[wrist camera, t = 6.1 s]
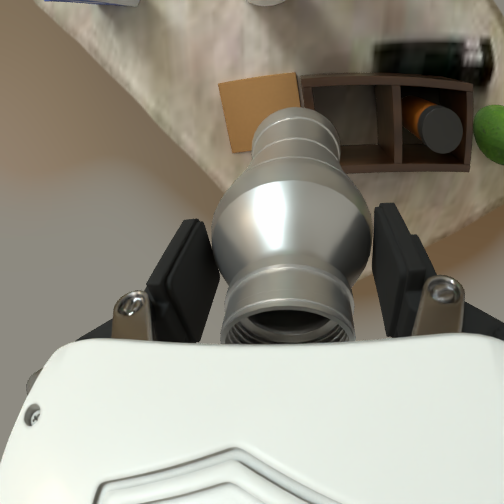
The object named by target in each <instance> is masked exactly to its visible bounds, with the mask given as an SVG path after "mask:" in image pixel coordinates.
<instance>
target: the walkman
mask: <svg viewBox="0 0 504 504" xmlns="http://www.w3.org/2000/svg"><path fill="white" fill-rule="evenodd" d="M44 1H57V2H76V3H88V4H102V5H119V6H133V7H137V6H138V4H139V1H140V0H44Z"/></svg>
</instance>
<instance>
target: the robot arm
mask: <svg viewBox="0 0 504 504" xmlns="http://www.w3.org/2000/svg"><path fill="white" fill-rule="evenodd" d="M372 271H373V276H374V280H375V284H376V288H377V292H378V297H379V302H380V306H381V311H382V315H383V321H384V326H385V331H386V335H387V337H389V336H390V337H392V338H389V339H376V340H364V341H349V342H331V343H307V344H201V343H196V342H199V341H200V340H201V337H202V333H203V330H204V327H205V324H206V321H207V318H208V314H209V311H210V308H211V305H212V302H213V299H214V296H215V293H216V290H217V287H218V283H219V280H220V273H219V270H218V267H217V265H216V263H215V259H214V256H213V252H212V248H211V244H210V241H209V238H208V235H207V231H206V228H205V225H204V223H203V222H200V221H199V219H189V220H184V221H183V222H182V224H181V226H180V228H179V229H178V230H177V232H176V234H175V235H174V237H173V239H172V240H171V242H170V244H169V245H168V247H167V249H166V250H165V252H164V254H163V255H162V258H161V259H160V261H159V262H158V264H157V266H156V268H155V269H154V271H153V273H152V274H151V276H150V278H149V280H148V282H147V283H146V285H147V287H146V289H145V291H138V290H137V291H132V292H129V293H127V294H125V295H124V296H122V297H121V298H120V299H119V300H118V301H117V302H116V304H115V306H114V311H113V318H112V319H111V320H109V321H107V322H106V323H104V324H102V325H101V326H99V327H97V328H96V329H94V330H92V331H91V332H89V333H87V334H85V335H84V336H82V337H80V338H79V339H77V340H76V341H75V342H72V343H69V344H67V345H65V346H63V347H61V348H59V349H58V350H57V351H56V352H55V353H54V354H53V355H52V356H51V358H50V359H49V360H48V362H47V363H46V365H45V366H44V367H43V368H42V369H40V370H38V371H37V372H35V373H34V374H33V375H32V376H31V377H30V378H29V380H28V382H27V385H26V391H27V399H26V401H25V403H24V405H23V407H22V409H21V412H20V414H19V416H18V418H17V421H16V423H15V425H14V428H13V430H12V433H11V435H10V438H9V440H8V443H7V446H6V449H5V452H4V454H3V457H2V460H1V463H0V504H504V323H503V322H501V321H499V320H497V319H495V318H494V317H492V316H491V315H488V314H487V313H485V312H483V311H481V310H480V309H478V308H476V307H474V306H472V305H470V304H469V303H467V302H465V301H464V300H465V292H464V289H463V287H462V285H461V284H460V283H459V282H458V281H457V280H455V279H454V278H452V277H449V276H446V275H437V274H436V272H435V270H434V268H433V265H432V263H431V261H430V259H429V257H428V255H427V253H426V251H425V249H424V247H423V245H422V243H421V241H420V239H419V237H418V236H417V235H416V234H414V235H411V234H410V232H409V230H408V228H407V226H406V224H405V222H404V220H403V219H402V217H401V215H400V213H399V211H398V209H397V207H396V205H395V204H394V203H380V204H379V207H375V211H374V238H373V256H372Z"/></svg>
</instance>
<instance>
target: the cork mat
mask: <svg viewBox="0 0 504 504" xmlns="http://www.w3.org/2000/svg"><path fill="white" fill-rule="evenodd" d="M218 86H219V91H220V96H221V101H222V105H223V110H224V115H225V120H226V124H227V129H228V134H229V139H230V144H231V148H232V153H237V152H245V151H252V140H253V137H254V134H255V132H256V130H257V128H258V126H259V125H260V124H261V123H262V121H263V120H264V119H265V118H267V117H268V116H269V115H270V114H272V113H274V112H276V111H278V110H281V109H285V108H290V107H301V106H300V99H299V92H298V85H297V79H296V73H295V72H294V73H284V74H276V75H268V76H261V77H254V78H247V79H241V80H236V81H230V82H225V83H220V84H218Z"/></svg>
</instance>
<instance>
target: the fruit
mask: <svg viewBox="0 0 504 504" xmlns="http://www.w3.org/2000/svg"><path fill="white" fill-rule="evenodd" d="M473 133H474V136H475V140H476V143H477V145H478V147H479V149H480V150H481V151H482V152H483V153H484V154H485V156H486V157H487V158H489V159H490V160H492V161H494V162H496V163H498V164H501V165H504V106H502V105H489V106H486V107H484V108H482V109H480V110H479V111H478V112H477V114H476V116H475V118H474V123H473Z"/></svg>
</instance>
